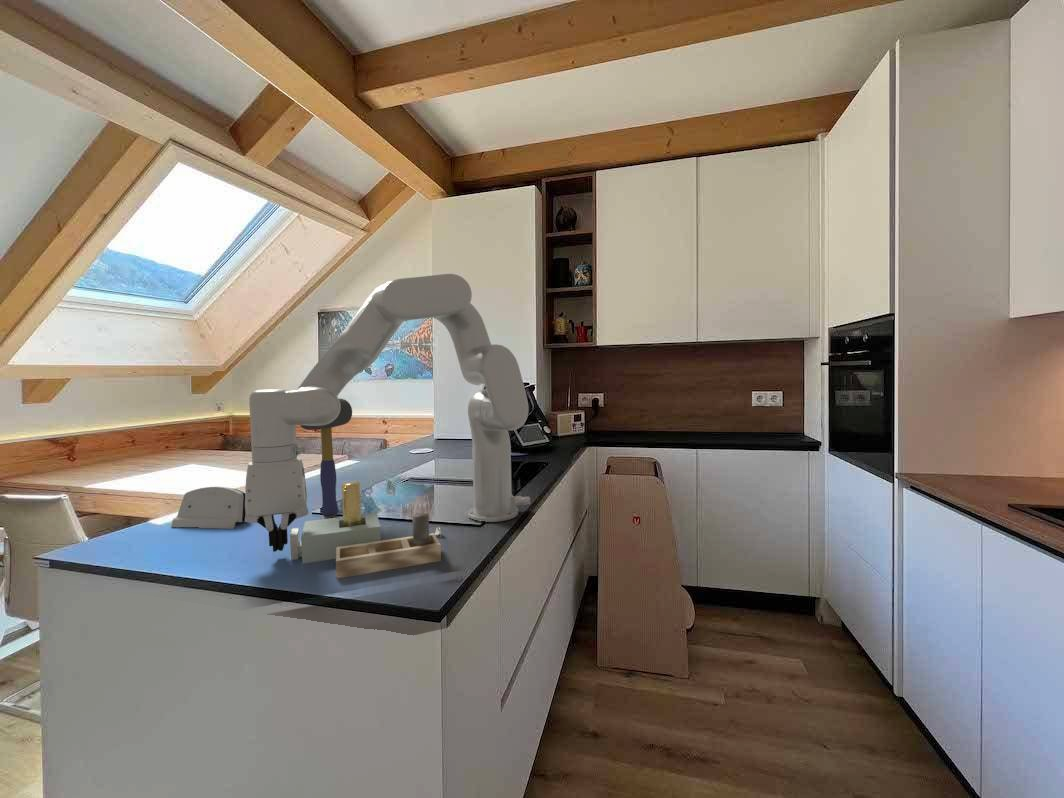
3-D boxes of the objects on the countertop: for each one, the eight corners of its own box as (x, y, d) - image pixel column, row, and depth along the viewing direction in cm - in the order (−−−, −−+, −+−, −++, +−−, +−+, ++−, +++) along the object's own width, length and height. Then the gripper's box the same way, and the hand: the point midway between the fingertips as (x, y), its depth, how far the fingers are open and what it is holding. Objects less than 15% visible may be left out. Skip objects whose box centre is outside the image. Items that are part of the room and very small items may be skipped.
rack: (434, 552, 94) (433, 508, 94) (441, 565, 88) (439, 518, 87) (337, 568, 88) (335, 520, 87) (336, 583, 81) (334, 532, 80)
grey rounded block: (169, 527, 113) (178, 485, 116) (185, 527, 118) (193, 487, 120) (234, 528, 111) (242, 485, 114) (247, 528, 116) (254, 487, 119)
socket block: (377, 539, 102) (376, 512, 102) (381, 556, 93) (380, 526, 92) (306, 550, 97) (305, 521, 97) (302, 568, 88) (301, 537, 87)
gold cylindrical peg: (362, 542, 98) (359, 480, 97) (362, 548, 95) (360, 484, 94) (344, 545, 96) (341, 482, 96) (344, 550, 93) (341, 486, 93)
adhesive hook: (442, 544, 100) (442, 529, 100) (430, 545, 99) (429, 530, 99) (442, 539, 103) (442, 525, 103) (430, 540, 102) (430, 526, 102)
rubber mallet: (322, 526, 112) (316, 400, 110) (298, 523, 114) (292, 400, 112) (359, 511, 123) (354, 397, 121) (336, 508, 126) (331, 397, 124)
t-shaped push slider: (338, 548, 97) (336, 522, 96) (337, 556, 92) (336, 529, 92) (293, 555, 93) (292, 528, 93) (291, 563, 89) (289, 535, 89)
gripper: (318, 448, 96) (322, 537, 97) (233, 454, 90) (237, 547, 91) (316, 454, 89) (320, 549, 90) (224, 460, 83) (229, 562, 84)
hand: (278, 548), depth 90 cm, fingers closed
